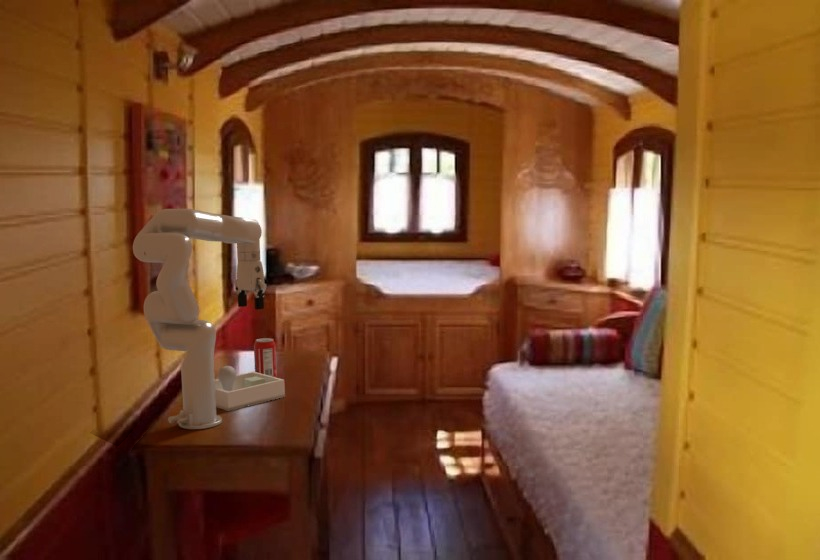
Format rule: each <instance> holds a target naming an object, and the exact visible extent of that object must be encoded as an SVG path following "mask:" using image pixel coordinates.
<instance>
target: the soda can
mask: <svg viewBox="0 0 820 560" xmlns="http://www.w3.org/2000/svg"><path fill="white" fill-rule="evenodd" d="M274 340H275V339H274V338H270V337H268V338H267V337H263V338H258V339H257V338H256V339H255V342H254V343H253V355H254V356H253V357H254V358H253V359H254V361H253V362H254V372H257V373H261V374H265V375H269V376H272V377H276V378H278V377H277V376H278V372H277V371H278V369H277V368H278V367H277V349H276V348H277V347H276V345H277V344H276V342H275V341H274Z"/></svg>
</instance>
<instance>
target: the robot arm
mask: <svg viewBox="0 0 820 560" xmlns="http://www.w3.org/2000/svg"><path fill="white" fill-rule="evenodd" d="M262 232H263V231H262V227H261V224H260V223H259V221H258V220H256V219H251V218H247V217H246V218H245V217H239V216H233V215H227V214H219V213H213V212H208V211H202V210H199V209H198V210H197V209H193V208H163V209H161V210H160V211H158V212H157V213H156V214H154V215H153V216H152V217H151V218H150V220H149V221H148V222H147V223H146V224H145V225H144V226H143V227H142V229H141V230H140V231H139V232H138V233H137V235H136V236H135V238H134V240H133V244H132V252H133V255H134V256H135V258H136V259H137V260H139V261H140V262H143V263H158V264H159V263H162V264H163V266H162V267H161V270H160V271H159V273H158V276H157V278H156V283H155V285H156V288H157V289H156V290H155V291H152V292H150V293H149V294H148V295H147V296H146V297H145V298H144V302H143V314H144V317H145V320H146V321H147V324H148V326H149V329H150V330H151V332H152V334H153V335H154V337H155V339H156V341H157V343H158V344H159V346H160V347H161V348H162V349H165V350H167V351H179V352H186V353H187V354H186V356H185V357H184V359H183V361H182V362H181V367H180V368H181V369H180V371H181V372H180V374H181V390H182V391H181V392H182V408H183V409H181V410H180V411H179V413H178V414H176V415H173V416H168V419H167V421H168V423H169V424H174V423H177V424H178V427H180V428H182V429H185V430H205V429H209V428H214V427H216V426H219V425H220V424H221V423H222V422H223V419H222V418H223V417H222V416H220V415H219V414H217V407H216V398H215V380H216V379H215V345H216V342H217V341H216V340H217V330H216V328H215V326H214V324H212V323H211V322H210V321H208V320H203V319H198V318H199V315H200V308H199V307H200V306H199V304H198V301H197V299H196V297H195V294H194V293H193V290H192V288H191V286H190V284H189V281H188V278H187V271H188V267H189V263H190V258H191V256H192V251H193V250H192V249H193V247H192V241H191V239H193V240H199V241H206V242H218V243H219V242H221V243H225V244H236V257H237V259H236V261H237V265H236V279H235V280H234V281H233V283H234V286H235V287H234V288H235V291H236V295H237V306H238V307H239V308H242V307H247V306H248V297H247V296H248V295H247V294H246V293H247V292H252V293H253V294H254V298H253V300H254V310H256V311H258V310H263V309H265V305H264V303H265V302H264V299H265V298H264V297H265V294H266V292H267V291H266V290H267V283H265V275H264V272H265V271H264V268H263V263H262V261H261V244H260V243H261V242H260V241H261V240H260V239H261V237H262V234H263V233H262Z"/></svg>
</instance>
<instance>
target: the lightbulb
mask: <svg viewBox="0 0 820 560" xmlns="http://www.w3.org/2000/svg"><path fill="white" fill-rule="evenodd" d="M237 375H238V374H237V371H236V369H235V368H234V367H233V366H230V365H224V366H222V367H220V369H218V372H217V379H219V381H220V383H221V384H222V388H223V390H225V391H232V390H233V383H234V381H235V379H236V376H237Z"/></svg>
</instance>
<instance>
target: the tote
mask: <svg viewBox="0 0 820 560" xmlns="http://www.w3.org/2000/svg"><path fill="white" fill-rule="evenodd" d="M255 376H257V377H261V378H264V379H265V383H264V384H260V385H255V386H251V387H247V388H244V379H246V378H250V377H255ZM283 397H284V398H285V397H286V387H285V379H283V378H279V377H272V376H269V375H265V374H261V373H257V372H255V371H249V372H246V373H239V374H237V376H236V379H235V381H234V383H233V390H232V391H225V390H223V388H222V384H221V383H220V381H219V379H218V378H216V379H215V398H216V408H219V409H222V410H224V411H228V412H230V410H231V411H234V410H233V409H235V410H239V409H242V408H241V407H243V408H246V407H245V406H247V407H249V406H248V405H251V406H254V405H259V404H263V402H264V403H267V402H266V401H268V402H271V401H270V400H272V401H274V400H275V399H276V400H280V399H283ZM279 398H280V399H279ZM238 408H239V409H238Z"/></svg>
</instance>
